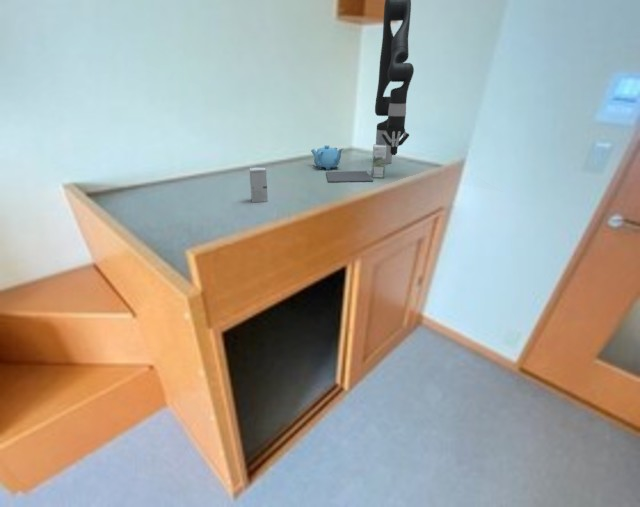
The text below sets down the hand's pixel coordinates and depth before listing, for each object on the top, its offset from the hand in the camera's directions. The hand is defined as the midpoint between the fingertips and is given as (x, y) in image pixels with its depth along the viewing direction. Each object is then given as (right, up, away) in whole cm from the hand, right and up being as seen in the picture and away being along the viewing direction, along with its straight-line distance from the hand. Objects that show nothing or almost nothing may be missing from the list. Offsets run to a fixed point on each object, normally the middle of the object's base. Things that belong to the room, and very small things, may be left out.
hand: (393, 154), depth 161 cm
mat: (-21, -10, +4) cm, 23 cm away
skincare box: (-57, -25, -27) cm, 68 cm away
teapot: (-30, -1, +22) cm, 37 cm away
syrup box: (-7, -9, +4) cm, 12 cm away
